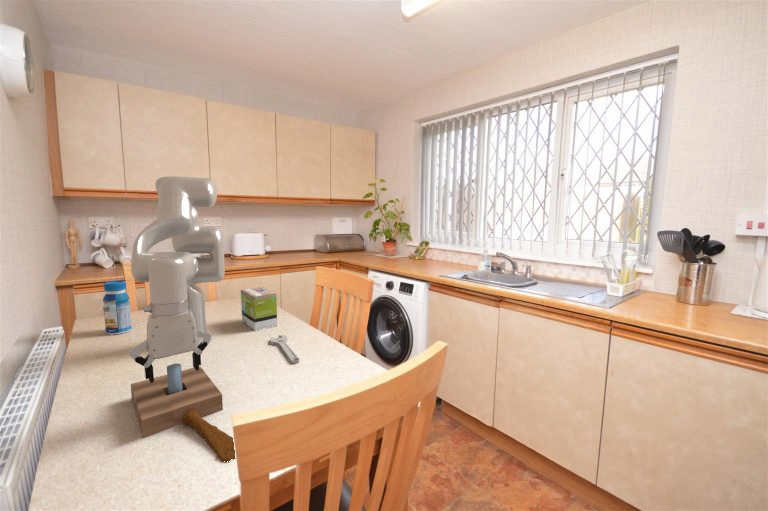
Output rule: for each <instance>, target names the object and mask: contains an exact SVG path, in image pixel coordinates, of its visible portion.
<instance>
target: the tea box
mask: <svg viewBox="0 0 768 511" xmlns="http://www.w3.org/2000/svg"><path fill="white" fill-rule="evenodd" d="M277 300H278V299H277V292H274V291H272V290H269V289H268V288H266V287H264V286H259V287H254V288H253V287H252V288H245V289H240V305H241V320H242V321H241V322H242V323H244V324H246V325H247V326H248V327H249V328H251V329H253V331H256V330H257V331H261V330H260V329H262V330H264V329H263V328H266V329H269V328H268V327H270V328H273V327H272V326H274V327H276V326H278V307H277V306H278V304H277Z"/></svg>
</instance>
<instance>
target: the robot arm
mask: <svg viewBox="0 0 768 511" xmlns="http://www.w3.org/2000/svg"><path fill="white" fill-rule="evenodd" d="M154 184H155V190H156V193H157V195H158V201H157V211H156V214H157V215H156V219H155V220H153V221H152V222H150V223H149V224H148V225H147V226H145V227H144V228H143V229H142V230H141V231H140V232H139V233H138V235H137V236H136V238H135V239H134V242H133V246H132V253H131V260H130V261H131V262H130V271H131V272H130V273H131V275H132V277H133V279H134V280H136V281H137V282H140V283H148V285H149V295H150V296H149V297H150V302H149V304H148V305H145V306H143V312H144V313H150V314H149V315H148V318H147V323H146V339H145V340H144V341H142V342H140V343H139V344H137V345H136V346H134V347H132V348H130V349H129V350H128V354H129V356H130V357H131V358H132V360H133V361H134V362H135V363H136V364H139V365H140V366H142V367H144V377H145V380H148V379H149V381H150V383H153V382H154V378H155V376H154V374H155V373H154V366H153V363H154V362H155V360H157V359H164V358H169V357H172V356H176V355H181V354H185V353H189V352H192V354H191V356H192V368H194V369H195V370H199V366H201V365H202V356H201V355H202V354H203V351H204V350H205V349H206V348H208V346H209V345H208V344H209V343H210V342H211V341H212V335H211V334H210V333H209V332H207V320H206V303H205V302H206V297H205V293H204V291H203V290H202V289H201V288H200V287H199V286H198V285H197V284H205V283H217V282H221V281H223V279H224V277H225V274H226V267H225V266H226V265H225V263H226V262H225V247H224V236H223V234H222V231H221V230H220V229H219V227H216V226H201V225H200V222H199V212H198V211H197V209H196V208H212V207H214V206H215V204H216V202H217V198H218V187H217V184H216V182H215V180H214V179H212V178H207V177H191V176H161V177H159V178H157V179H156V180H155V183H154ZM168 239H171V243H172V248H173V250H174V251H160V252H153V251H152V252H149V251H150V250H151V248H153V247H155V245H157V244H159V243H161V242H163V241H166V240H168ZM194 254H195V255H196V254H208V255H209V256H207V255H206V256H195V255H194ZM144 349H146V351H147V355H146V356H145V357H143V356H141V355H140V354H139V353H140V352H141V351H143V350H144Z"/></svg>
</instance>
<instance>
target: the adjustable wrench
mask: <svg viewBox="0 0 768 511" xmlns="http://www.w3.org/2000/svg"><path fill="white" fill-rule="evenodd" d="M279 338H280V339H279ZM269 340H270V345H271V346H277V347H279V348H280V349H281V351H282V350H283V351H282V352H283V353H284V355H285V356H286V358H287V359H288V361H289V362H290V364H292V365H298V364H299V363H300V360H301V359H300V357H299V356H298V355H297V354H296V353H295V352H294V350H293V349H292V348H291V346H289V345H288V343H287V342H288V336H287V335H285V334H278V338H275V337H270V339H269Z"/></svg>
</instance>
